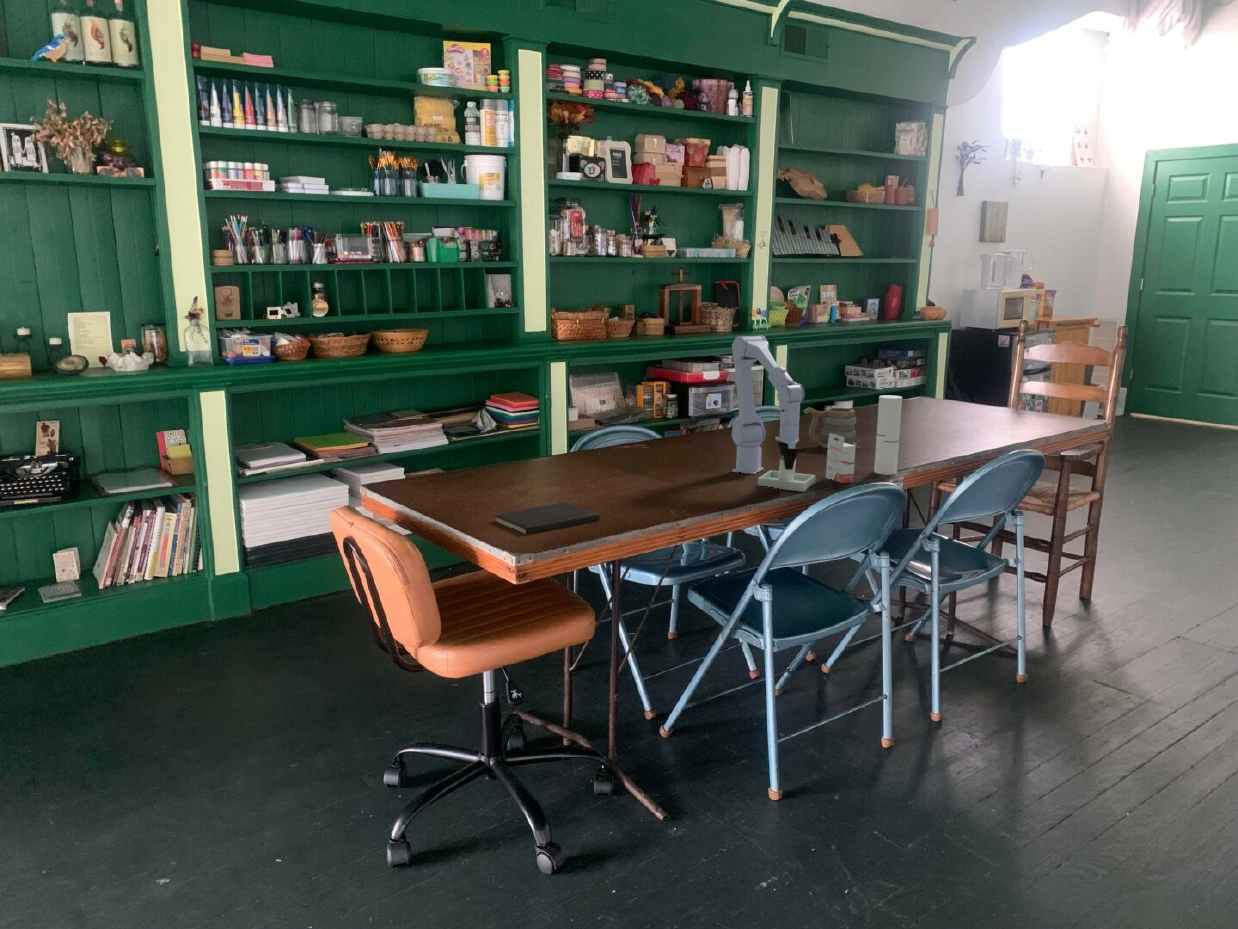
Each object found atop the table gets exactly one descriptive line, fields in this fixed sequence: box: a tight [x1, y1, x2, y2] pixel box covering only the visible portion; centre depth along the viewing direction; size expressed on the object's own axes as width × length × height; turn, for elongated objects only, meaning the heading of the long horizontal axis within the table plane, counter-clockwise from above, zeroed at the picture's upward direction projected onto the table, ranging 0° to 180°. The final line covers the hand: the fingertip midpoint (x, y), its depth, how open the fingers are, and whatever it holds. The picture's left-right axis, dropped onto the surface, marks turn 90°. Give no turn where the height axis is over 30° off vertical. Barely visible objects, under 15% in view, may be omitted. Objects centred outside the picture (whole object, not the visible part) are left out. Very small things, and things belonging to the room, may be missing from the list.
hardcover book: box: [493, 501, 601, 535], centre depth 248 cm, size 16×23×2 cm
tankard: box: [803, 406, 858, 449], centre depth 347 cm, size 20×13×15 cm, turn 92°
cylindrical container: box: [873, 394, 903, 476], centre depth 305 cm, size 7×7×25 cm
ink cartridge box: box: [825, 433, 856, 484], centre depth 295 cm, size 9×5×15 cm, turn 23°
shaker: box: [778, 454, 797, 482], centre depth 289 cm, size 5×5×8 cm
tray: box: [757, 470, 817, 493], centre depth 289 cm, size 13×15×2 cm
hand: (787, 467), depth 288 cm, fingers open, 5 cm apart
